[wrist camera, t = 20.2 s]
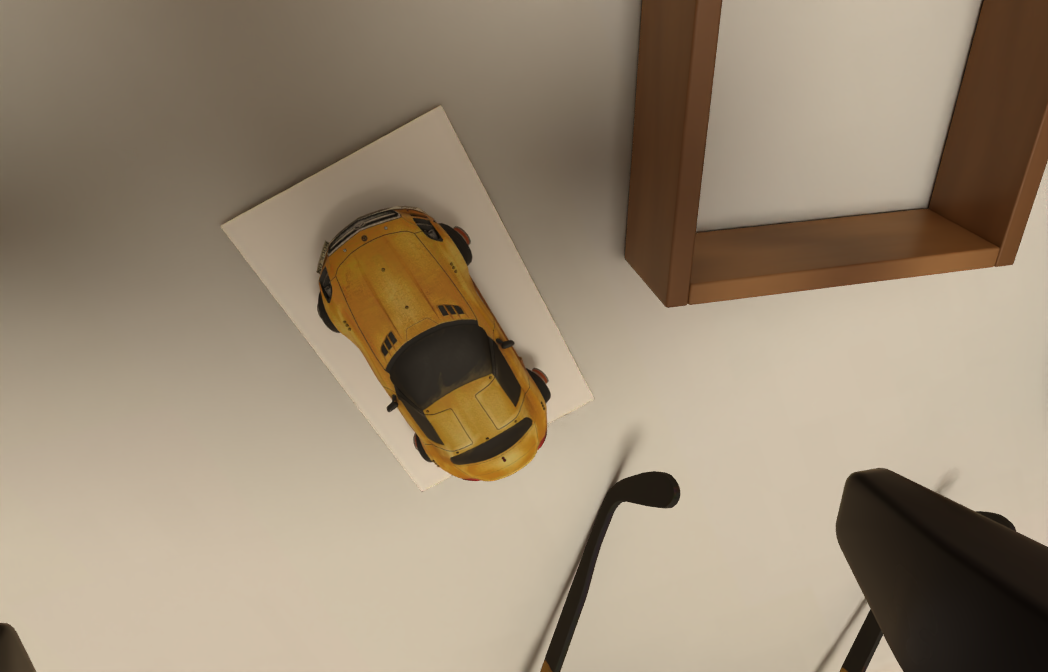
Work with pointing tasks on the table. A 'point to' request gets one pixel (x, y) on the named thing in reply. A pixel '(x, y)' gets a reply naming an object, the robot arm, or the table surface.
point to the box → (848, 242)
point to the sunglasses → (666, 494)
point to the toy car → (418, 303)
